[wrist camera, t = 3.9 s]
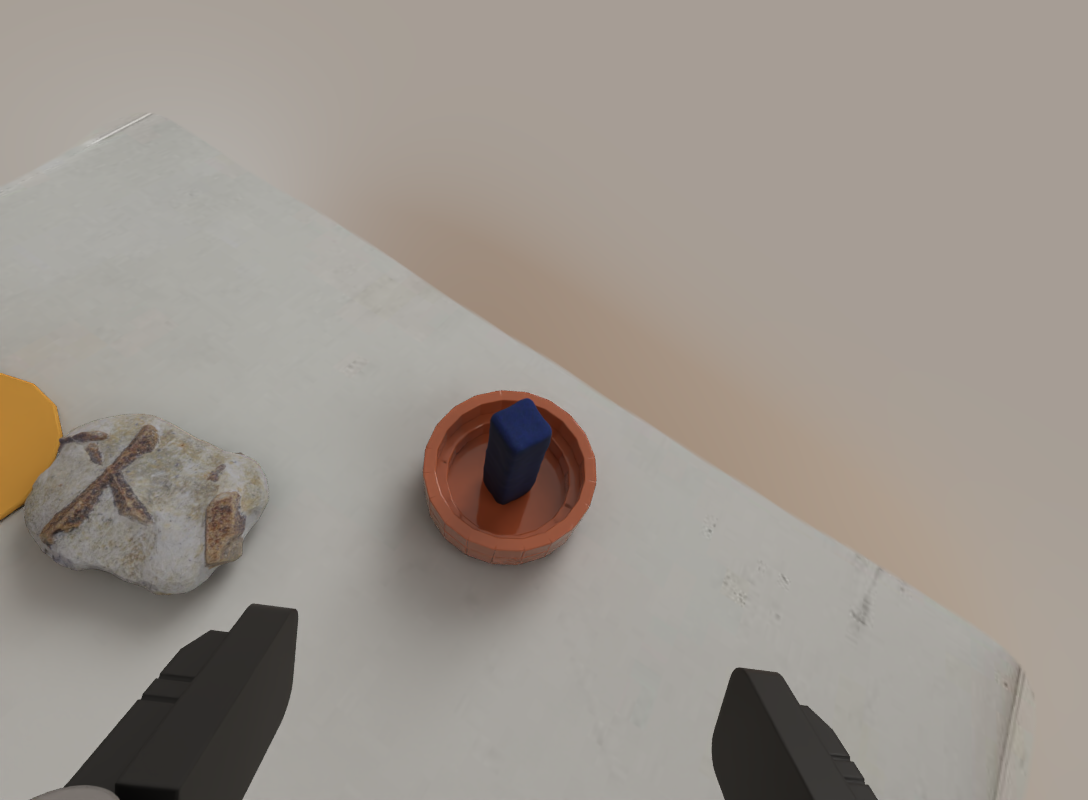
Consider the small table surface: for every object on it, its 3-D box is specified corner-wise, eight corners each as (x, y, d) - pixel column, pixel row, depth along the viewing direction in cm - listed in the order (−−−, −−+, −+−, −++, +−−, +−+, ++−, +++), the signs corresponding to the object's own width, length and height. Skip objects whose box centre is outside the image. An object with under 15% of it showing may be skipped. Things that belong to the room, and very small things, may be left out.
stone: (6, 551, 26) (-37, 533, 23) (113, 411, 29) (84, 384, 27) (216, 616, 25) (194, 605, 23) (296, 468, 29) (283, 445, 27)
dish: (612, 477, 32) (627, 454, 29) (522, 603, 28) (530, 589, 25) (492, 391, 33) (496, 362, 31) (390, 499, 29) (385, 476, 27)
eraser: (514, 456, 31) (530, 390, 25) (536, 492, 30) (558, 432, 24) (478, 474, 30) (485, 410, 24) (499, 511, 29) (512, 454, 23)
